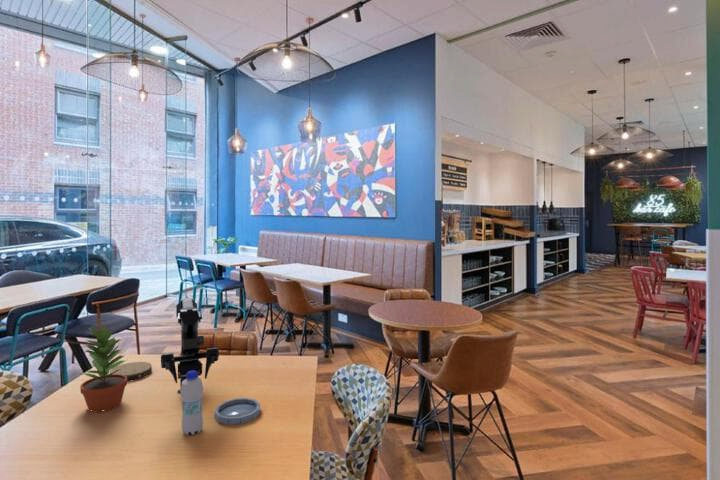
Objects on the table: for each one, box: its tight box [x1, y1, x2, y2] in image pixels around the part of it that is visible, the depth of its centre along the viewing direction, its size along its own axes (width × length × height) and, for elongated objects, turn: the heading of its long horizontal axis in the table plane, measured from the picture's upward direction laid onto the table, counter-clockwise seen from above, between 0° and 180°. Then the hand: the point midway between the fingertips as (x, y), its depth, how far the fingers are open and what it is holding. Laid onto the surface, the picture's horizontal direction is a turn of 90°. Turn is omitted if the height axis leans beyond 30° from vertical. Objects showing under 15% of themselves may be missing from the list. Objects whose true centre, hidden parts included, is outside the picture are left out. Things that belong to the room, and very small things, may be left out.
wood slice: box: [109, 361, 153, 382], centre depth 175 cm, size 16×16×3 cm
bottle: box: [180, 370, 204, 436], centre depth 128 cm, size 7×7×20 cm
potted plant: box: [79, 325, 128, 411], centre depth 145 cm, size 15×15×30 cm
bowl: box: [214, 397, 261, 426], centre depth 140 cm, size 15×15×2 cm
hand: (191, 380), depth 136 cm, fingers open, 9 cm apart
